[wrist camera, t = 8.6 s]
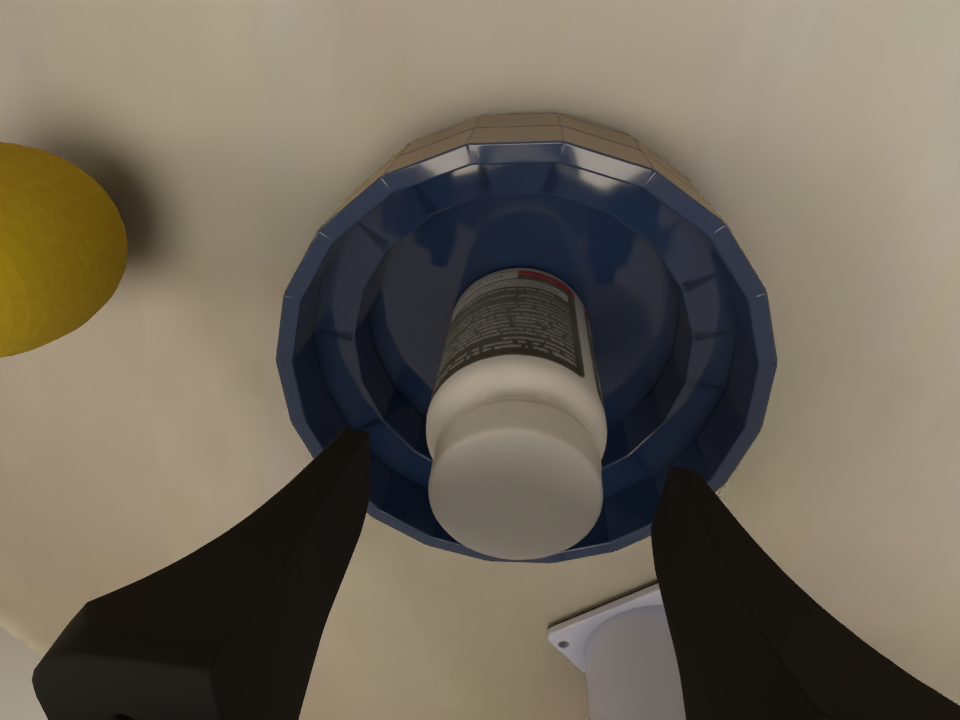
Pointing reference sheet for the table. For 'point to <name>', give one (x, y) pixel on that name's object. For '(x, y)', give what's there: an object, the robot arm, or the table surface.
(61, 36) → the table surface
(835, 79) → the table surface
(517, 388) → the pill bottle
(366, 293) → the blue round pet bowl
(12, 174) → the lemon
